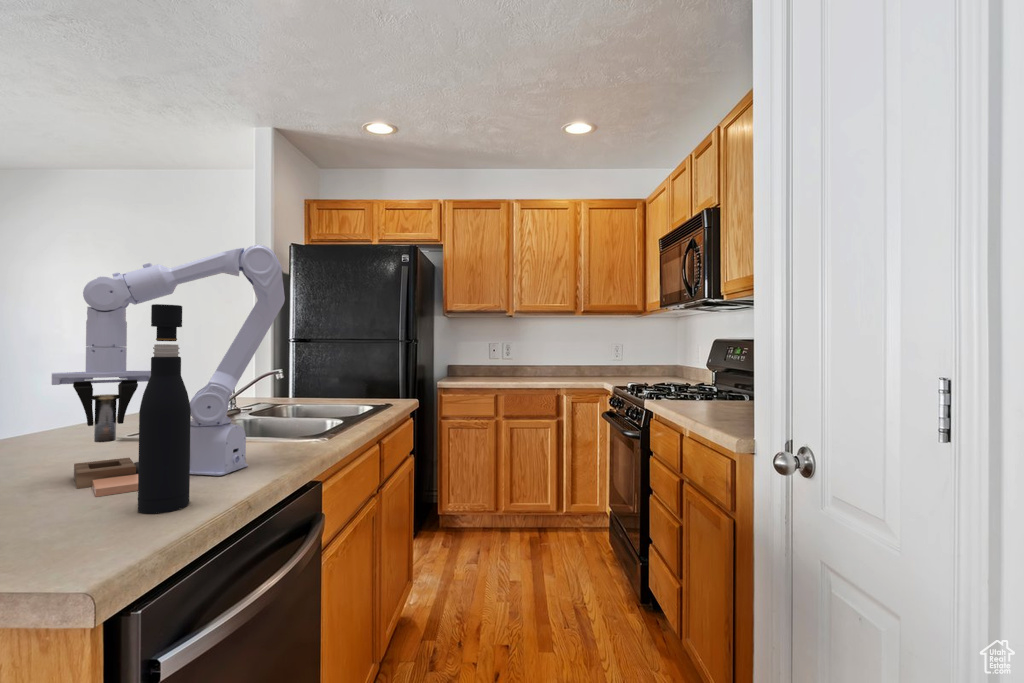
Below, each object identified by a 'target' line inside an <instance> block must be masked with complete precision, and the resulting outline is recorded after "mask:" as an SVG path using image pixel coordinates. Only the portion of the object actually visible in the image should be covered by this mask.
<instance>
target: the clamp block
mask: <svg viewBox="0 0 1024 683" xmlns="http://www.w3.org/2000/svg"><path fill="white" fill-rule="evenodd" d="M138 464H139V461H135V462H134V461H132V459H131V458H130V457H122V458H113V459H106V460H105V459H102V460H96V461H95V460H94V461H86V462H85V461H83V462H77V463H76V462H75V463H73V479H74V483H75V488H76V490H77V489H85V488H90V487H91V488H92V480H97V479H104V478H112V477H120V476H128V475H135V474H138Z"/></svg>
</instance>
